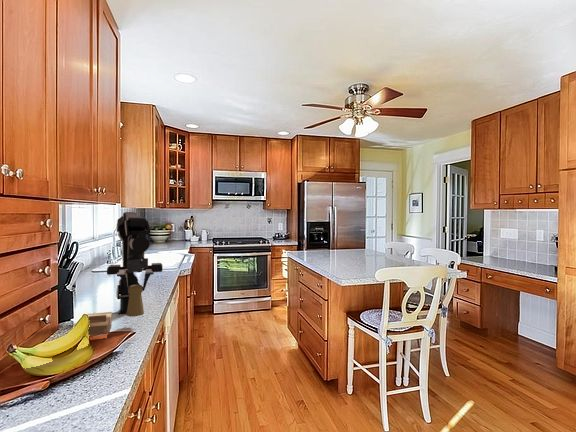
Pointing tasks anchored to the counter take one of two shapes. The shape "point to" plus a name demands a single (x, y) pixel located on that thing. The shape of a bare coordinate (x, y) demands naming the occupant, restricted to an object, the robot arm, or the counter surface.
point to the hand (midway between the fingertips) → (135, 291)
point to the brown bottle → (135, 301)
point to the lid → (99, 319)
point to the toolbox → (100, 329)
